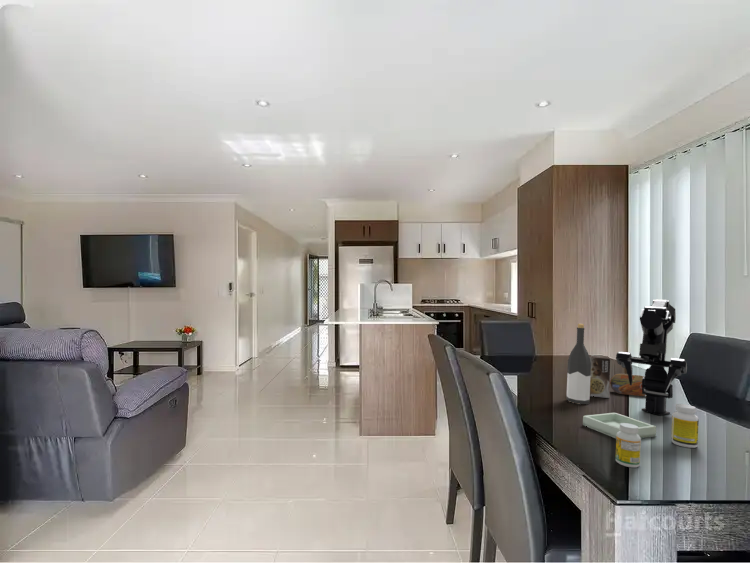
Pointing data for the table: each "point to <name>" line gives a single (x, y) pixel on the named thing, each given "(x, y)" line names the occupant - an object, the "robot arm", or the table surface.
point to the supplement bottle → (628, 445)
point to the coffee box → (600, 376)
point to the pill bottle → (685, 426)
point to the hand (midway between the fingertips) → (647, 387)
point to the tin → (627, 384)
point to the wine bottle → (579, 371)
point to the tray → (617, 424)
